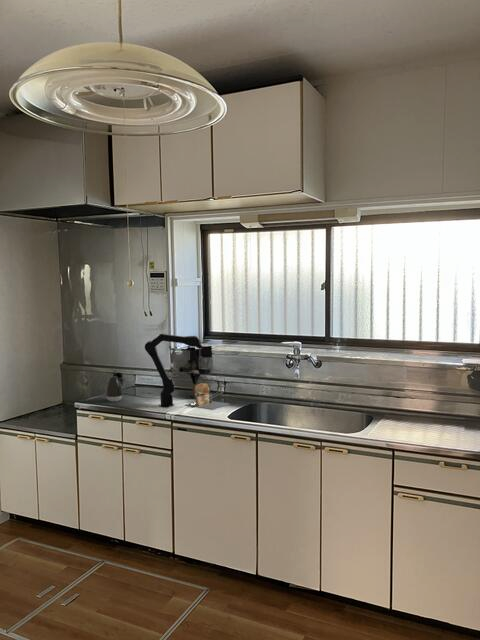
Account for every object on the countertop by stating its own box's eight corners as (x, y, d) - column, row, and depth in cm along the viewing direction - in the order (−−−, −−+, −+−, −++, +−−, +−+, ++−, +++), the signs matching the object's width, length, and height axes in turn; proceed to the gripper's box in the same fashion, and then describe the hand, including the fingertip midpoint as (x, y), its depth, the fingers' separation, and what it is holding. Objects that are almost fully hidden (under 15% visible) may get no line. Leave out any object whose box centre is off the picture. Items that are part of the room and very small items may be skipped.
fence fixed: (196, 401, 329) (196, 392, 328) (198, 400, 330) (198, 391, 330) (210, 403, 323) (210, 394, 323) (212, 402, 325) (212, 393, 324)
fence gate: (207, 401, 324) (207, 393, 324) (210, 402, 323) (209, 394, 323) (195, 405, 315) (195, 397, 314) (197, 405, 314) (197, 397, 314)
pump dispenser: (121, 402, 329) (120, 377, 328) (103, 402, 329) (103, 377, 328) (125, 399, 339) (124, 374, 338) (108, 399, 339) (107, 374, 338)
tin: (194, 399, 336) (194, 385, 336) (190, 398, 338) (190, 385, 338) (210, 395, 348) (210, 382, 348) (206, 394, 350) (206, 381, 349)
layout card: (185, 405, 319) (185, 404, 319) (202, 400, 333) (202, 399, 333) (213, 409, 308) (213, 408, 308) (229, 404, 322) (229, 403, 322)
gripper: (172, 358, 317) (173, 385, 318) (198, 360, 307) (198, 388, 308) (185, 356, 326) (185, 382, 327) (210, 358, 316) (210, 385, 317)
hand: (194, 384), depth 320 cm, fingers closed
